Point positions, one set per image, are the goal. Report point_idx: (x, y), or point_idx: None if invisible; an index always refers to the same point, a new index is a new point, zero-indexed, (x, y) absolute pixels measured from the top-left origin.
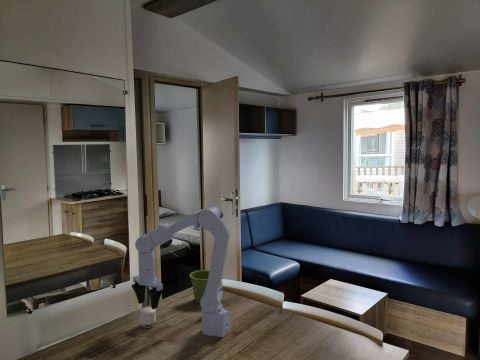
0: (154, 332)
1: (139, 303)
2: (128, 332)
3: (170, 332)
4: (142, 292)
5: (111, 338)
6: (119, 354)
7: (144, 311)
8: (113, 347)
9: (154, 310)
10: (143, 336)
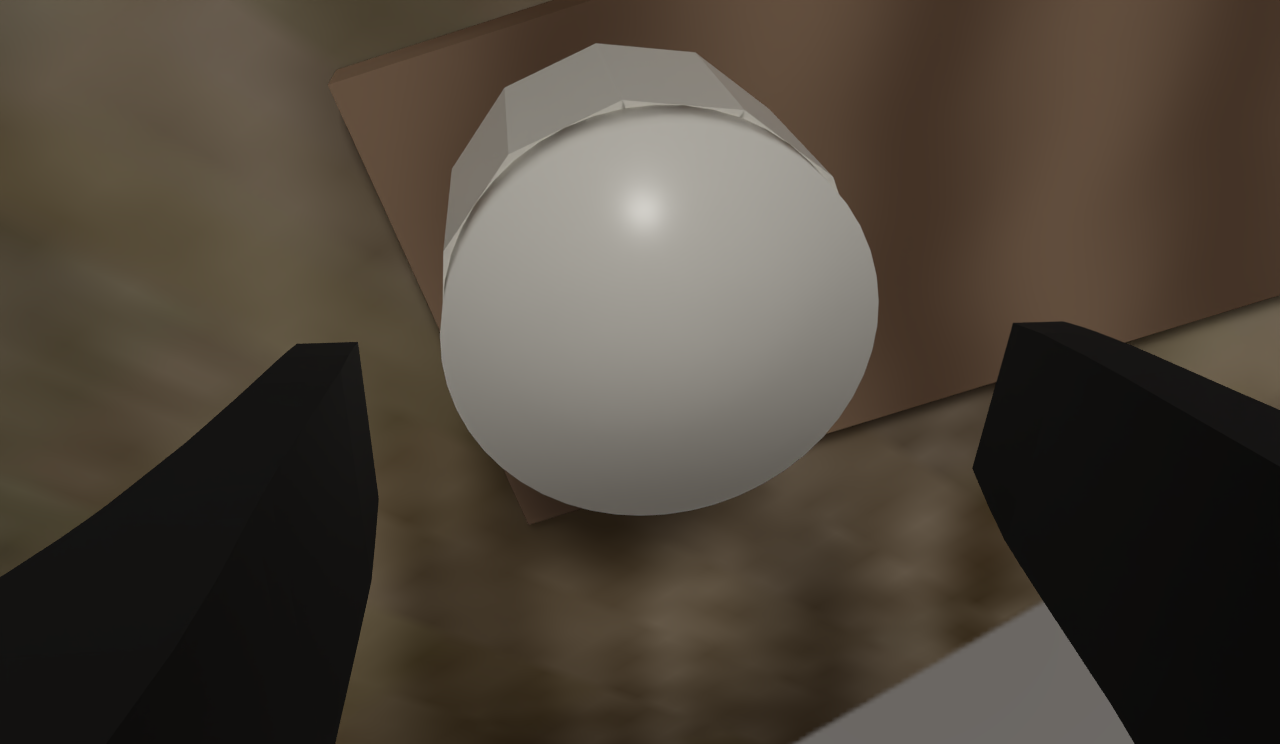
0: (898, 261)
1: (374, 511)
2: (541, 503)
3: (1154, 82)
4: (274, 674)
5: (431, 635)
6: (831, 708)
7: (652, 430)
8: (654, 695)
9: (832, 237)
10: (833, 431)
